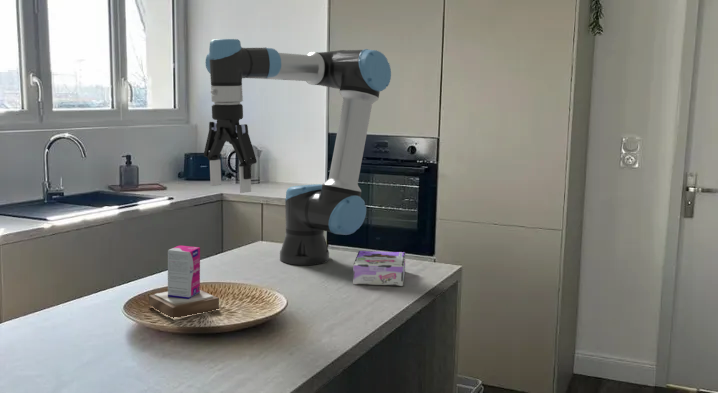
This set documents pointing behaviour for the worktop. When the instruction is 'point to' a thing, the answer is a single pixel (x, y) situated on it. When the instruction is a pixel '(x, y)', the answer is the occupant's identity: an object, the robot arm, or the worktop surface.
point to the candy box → (379, 268)
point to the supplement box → (183, 272)
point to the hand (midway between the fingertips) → (230, 188)
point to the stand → (184, 304)
